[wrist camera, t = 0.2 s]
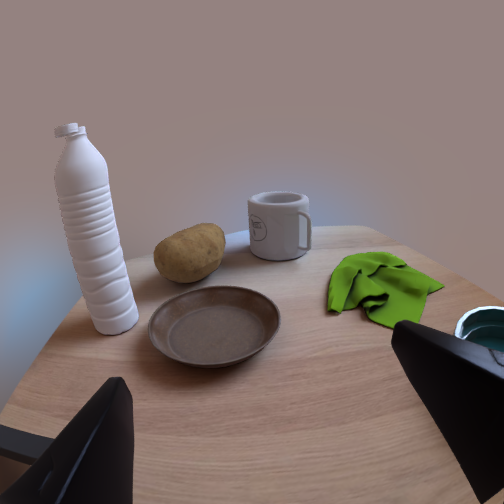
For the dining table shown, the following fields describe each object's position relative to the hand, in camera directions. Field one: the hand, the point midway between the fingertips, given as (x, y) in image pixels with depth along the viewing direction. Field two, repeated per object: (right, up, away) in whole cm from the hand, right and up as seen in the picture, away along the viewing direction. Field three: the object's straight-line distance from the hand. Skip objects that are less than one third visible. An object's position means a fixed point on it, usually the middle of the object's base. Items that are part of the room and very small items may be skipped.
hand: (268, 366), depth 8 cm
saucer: (-5, -6, +25) cm, 26 cm away
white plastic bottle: (-18, -6, +26) cm, 33 cm away
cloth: (+18, -2, +32) cm, 37 cm away
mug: (+5, +3, +46) cm, 46 cm away
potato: (-9, 0, +39) cm, 40 cm away
